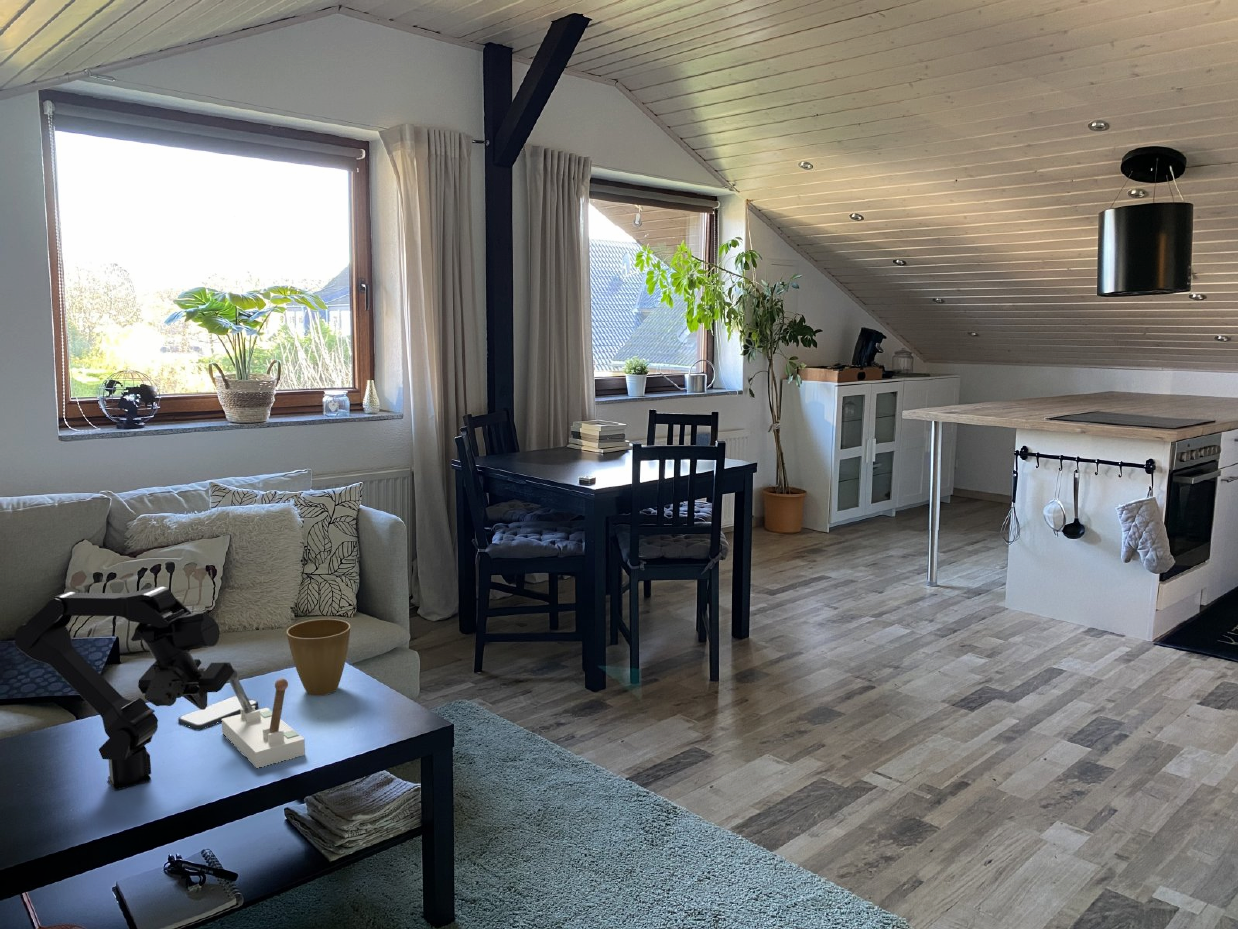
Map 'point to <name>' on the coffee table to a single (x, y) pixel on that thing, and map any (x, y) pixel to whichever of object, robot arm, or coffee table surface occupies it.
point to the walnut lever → (278, 704)
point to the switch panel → (262, 737)
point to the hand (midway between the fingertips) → (204, 708)
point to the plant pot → (319, 653)
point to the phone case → (214, 713)
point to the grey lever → (240, 693)
